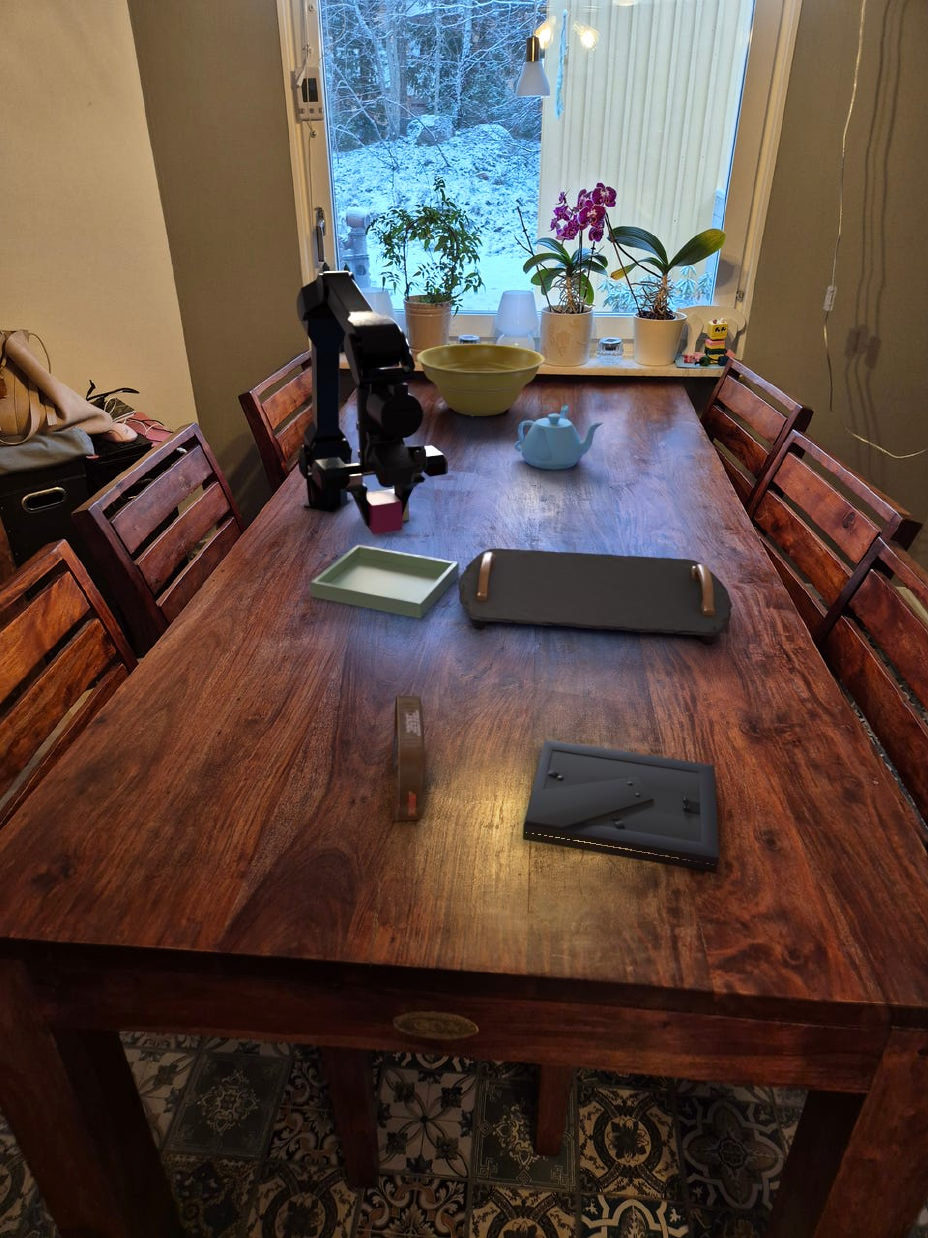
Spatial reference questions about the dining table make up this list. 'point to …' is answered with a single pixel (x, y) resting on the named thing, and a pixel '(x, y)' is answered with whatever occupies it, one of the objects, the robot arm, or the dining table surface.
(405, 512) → the birch block
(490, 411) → the planter bowl
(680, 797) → the picture frame
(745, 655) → the dining table surface
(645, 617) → the serving tray
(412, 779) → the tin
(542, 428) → the teapot
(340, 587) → the green tray
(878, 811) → the dining table surface
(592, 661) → the dining table surface
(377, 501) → the mulberry block
